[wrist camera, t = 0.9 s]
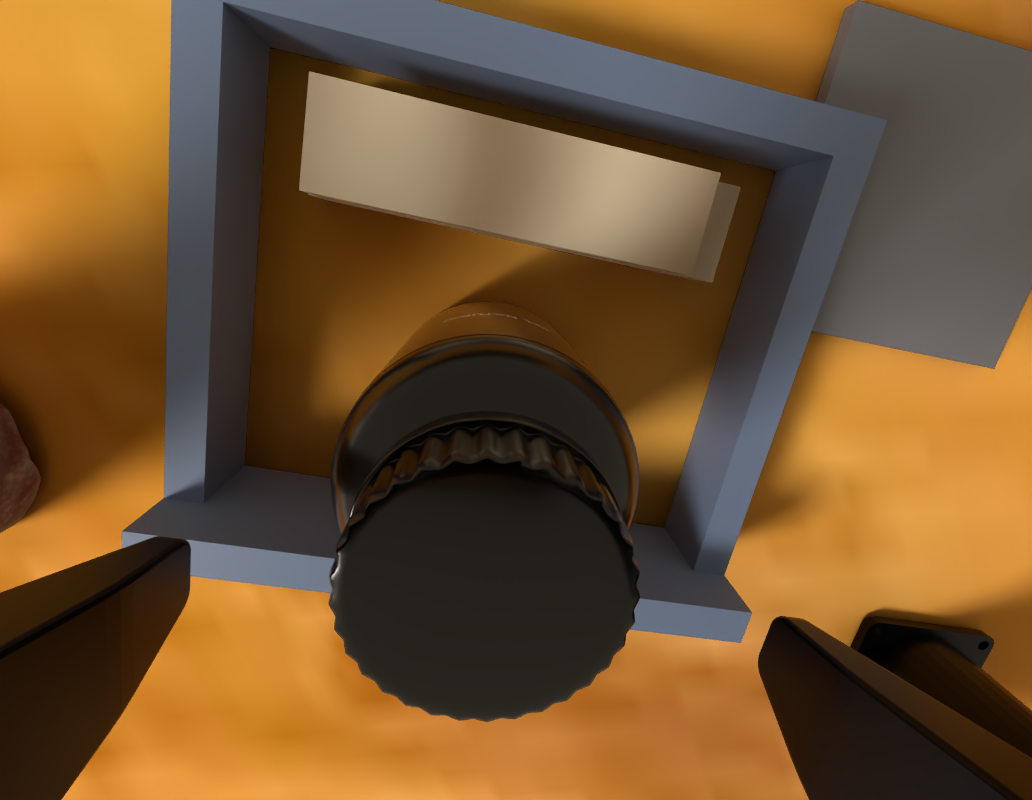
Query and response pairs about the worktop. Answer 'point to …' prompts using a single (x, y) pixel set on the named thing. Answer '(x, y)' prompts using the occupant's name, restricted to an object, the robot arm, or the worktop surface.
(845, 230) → the blue-grey rectangular tray
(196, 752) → the worktop surface
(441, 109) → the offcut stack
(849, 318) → the mat
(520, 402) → the supplement bottle
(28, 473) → the candle
